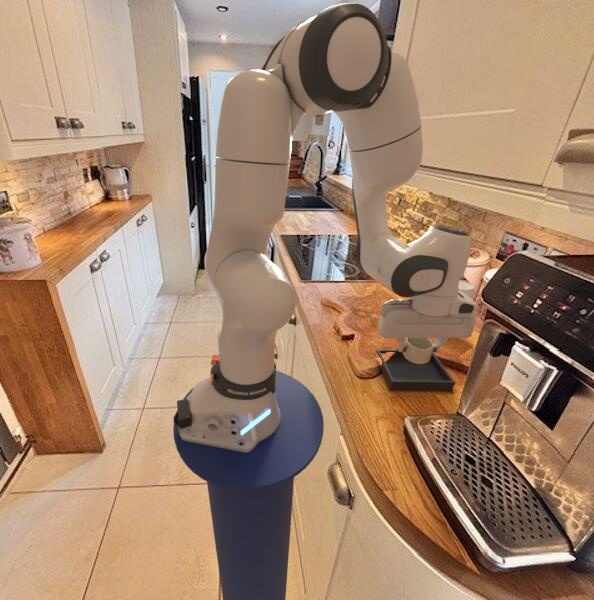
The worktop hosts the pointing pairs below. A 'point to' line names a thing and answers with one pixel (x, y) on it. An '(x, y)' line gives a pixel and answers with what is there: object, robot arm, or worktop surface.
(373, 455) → the worktop surface
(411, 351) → the cup
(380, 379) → the worktop surface
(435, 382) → the tray
